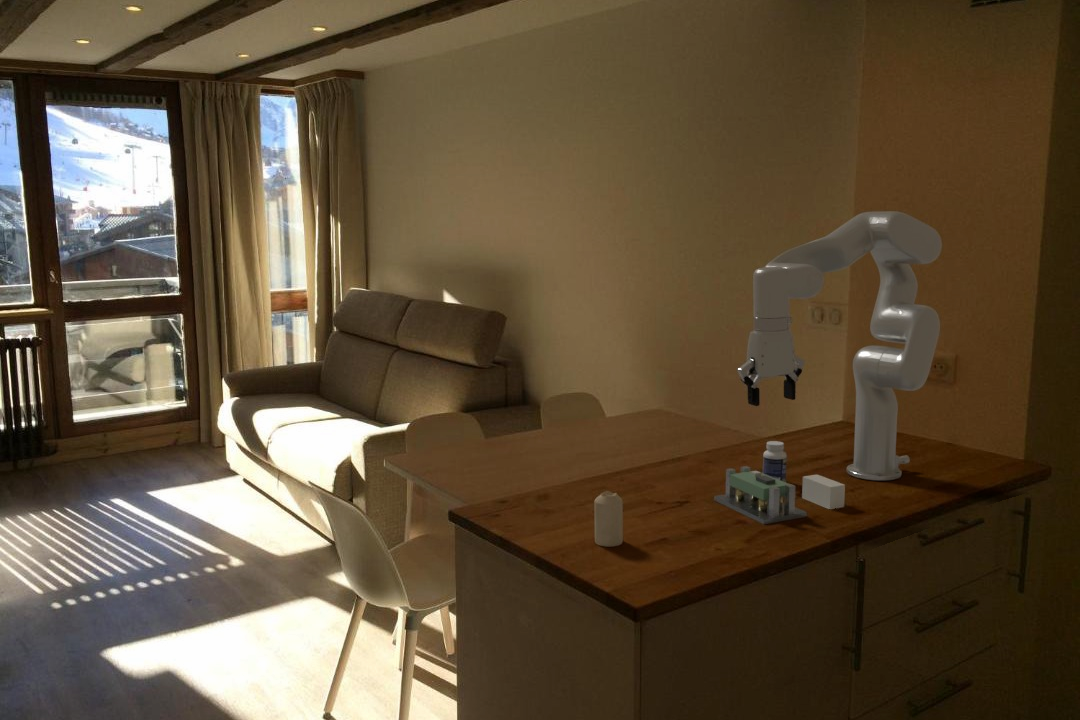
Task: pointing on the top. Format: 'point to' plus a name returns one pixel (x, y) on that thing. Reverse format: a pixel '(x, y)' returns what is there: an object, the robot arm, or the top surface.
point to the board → (756, 484)
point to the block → (823, 491)
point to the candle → (608, 519)
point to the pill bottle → (775, 460)
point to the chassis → (761, 502)
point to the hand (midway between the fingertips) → (771, 401)
